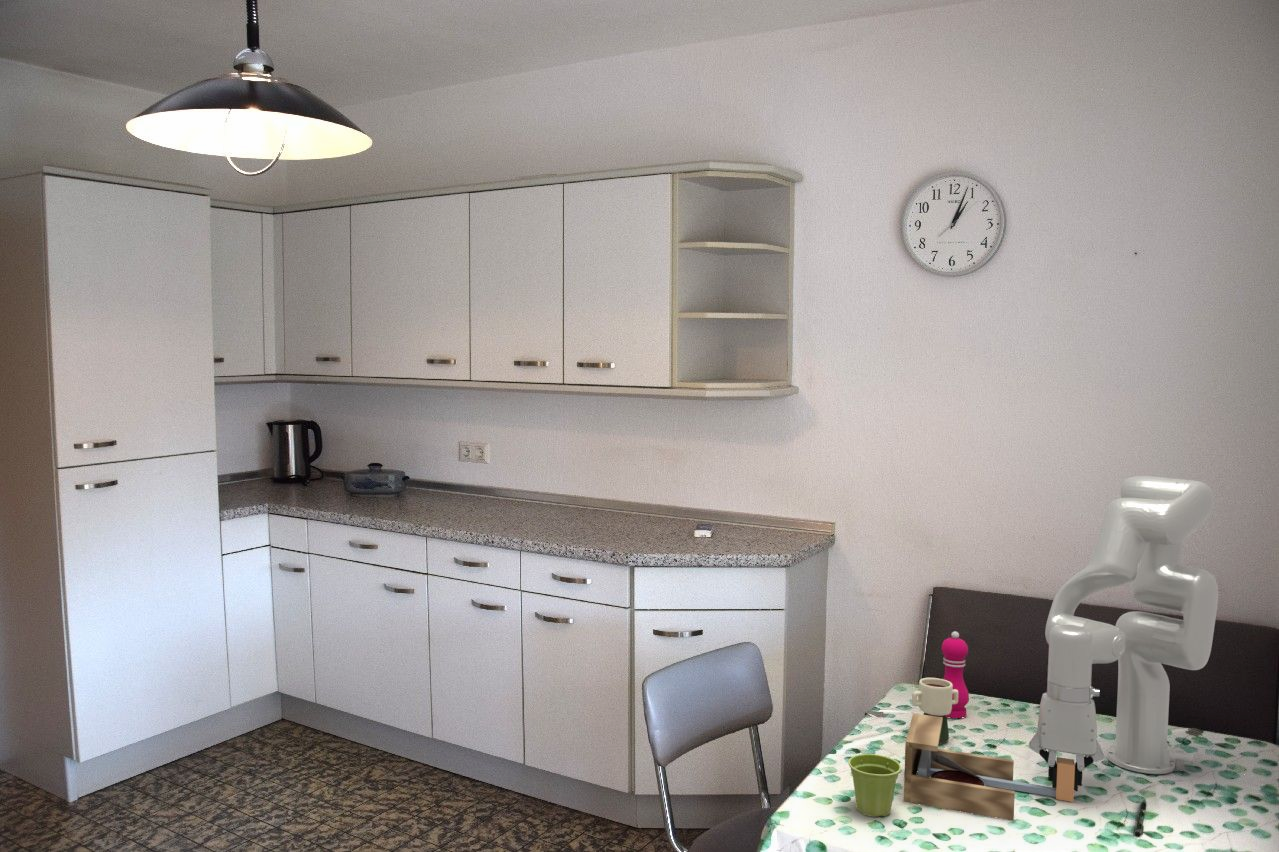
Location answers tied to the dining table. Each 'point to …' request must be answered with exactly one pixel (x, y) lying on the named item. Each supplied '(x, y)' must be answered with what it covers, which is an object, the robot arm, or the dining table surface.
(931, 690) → the character mug
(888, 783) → the plant pot
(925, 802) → the shelf lane
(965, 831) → the dining table surface
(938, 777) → the canned food
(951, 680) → the pepper mill
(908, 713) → the dining table surface
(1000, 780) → the pull rod
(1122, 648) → the robot arm
